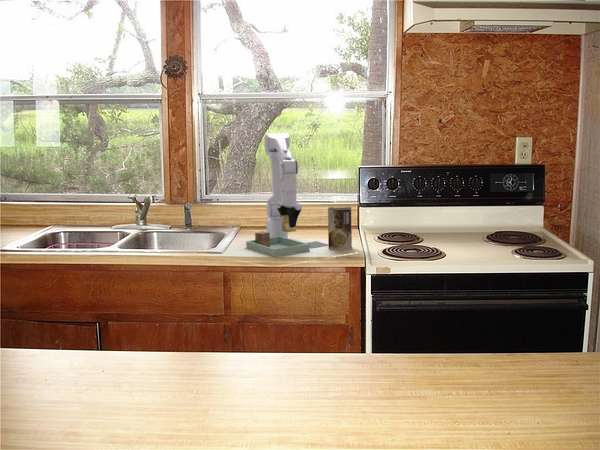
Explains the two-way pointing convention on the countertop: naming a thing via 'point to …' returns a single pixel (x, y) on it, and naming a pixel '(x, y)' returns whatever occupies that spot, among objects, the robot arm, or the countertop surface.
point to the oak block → (287, 224)
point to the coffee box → (339, 228)
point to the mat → (316, 244)
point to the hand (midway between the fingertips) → (289, 226)
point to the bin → (279, 246)
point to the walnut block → (262, 238)
